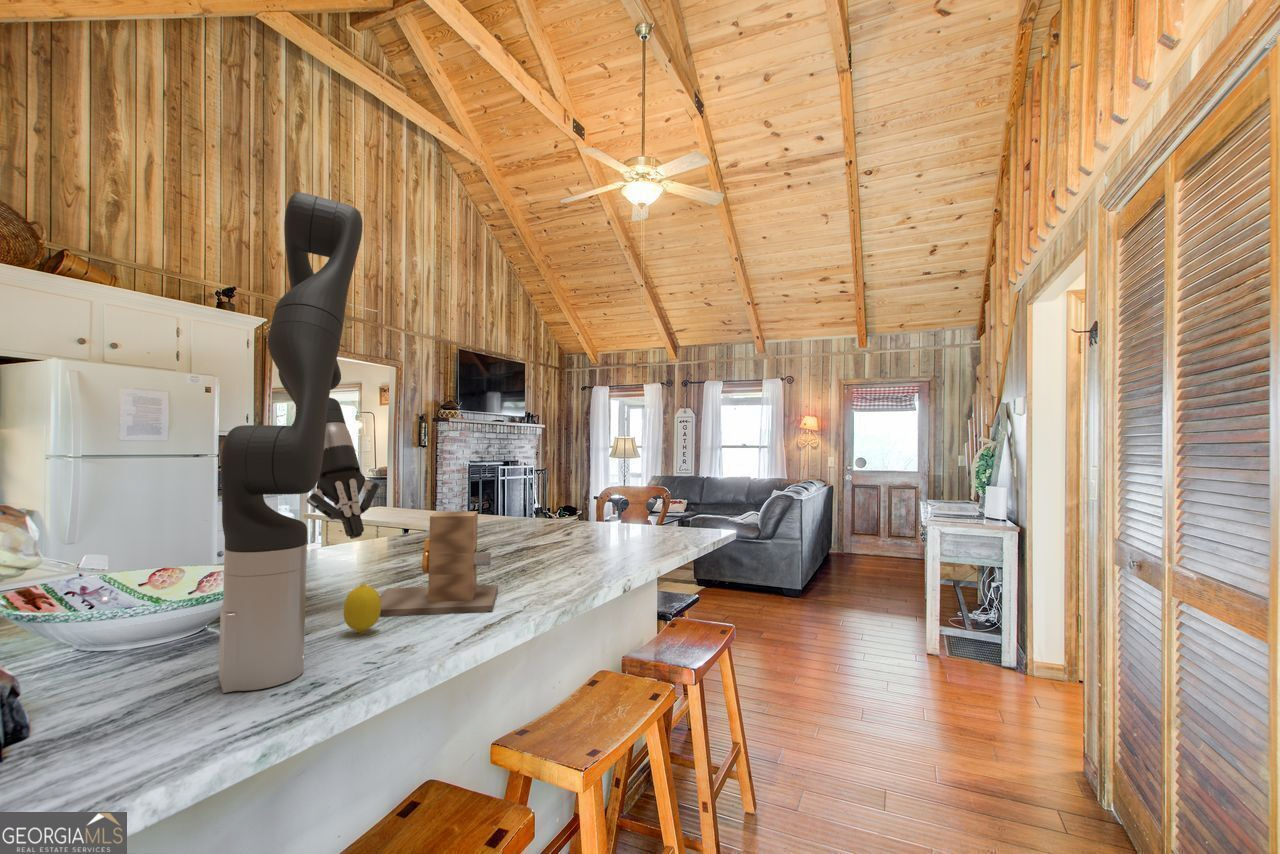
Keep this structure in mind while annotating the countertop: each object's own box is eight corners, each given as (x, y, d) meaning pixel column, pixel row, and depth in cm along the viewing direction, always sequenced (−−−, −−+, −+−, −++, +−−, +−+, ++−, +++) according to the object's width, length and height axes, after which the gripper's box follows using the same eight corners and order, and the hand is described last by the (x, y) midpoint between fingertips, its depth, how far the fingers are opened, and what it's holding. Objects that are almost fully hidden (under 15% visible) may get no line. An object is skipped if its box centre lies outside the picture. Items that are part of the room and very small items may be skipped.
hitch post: (365, 617, 104) (367, 520, 104) (387, 594, 119) (389, 510, 120) (492, 611, 107) (493, 518, 108) (497, 590, 123) (499, 508, 124)
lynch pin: (422, 575, 111) (422, 540, 111) (426, 570, 116) (427, 536, 116) (489, 573, 113) (490, 539, 113) (491, 568, 118) (492, 535, 118)
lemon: (370, 639, 92) (371, 588, 92) (335, 638, 92) (337, 587, 92) (386, 628, 98) (387, 580, 98) (353, 627, 98) (354, 579, 98)
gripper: (300, 448, 104) (325, 540, 101) (374, 439, 114) (399, 523, 110) (288, 463, 109) (312, 551, 105) (360, 453, 119) (384, 534, 115)
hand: (356, 536), depth 108 cm, fingers closed
